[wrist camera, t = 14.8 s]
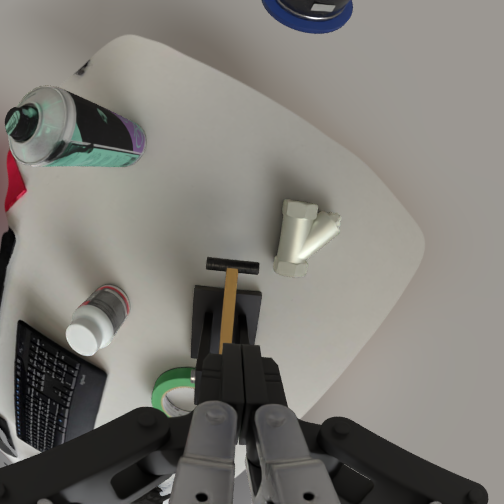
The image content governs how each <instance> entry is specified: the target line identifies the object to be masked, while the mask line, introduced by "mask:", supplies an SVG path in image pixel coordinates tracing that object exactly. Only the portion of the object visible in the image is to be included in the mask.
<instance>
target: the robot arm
mask: <svg viewBox="0 0 504 504" xmlns="http://www.w3.org/2000/svg"><path fill="white" fill-rule="evenodd" d="M275 1H276V3H277V4H278V5H279V6H280V7H281V8H282V9H283V10H284V11H286V12H287V13H289V14H291V15H292V16H295V17H297V18H299V19H303V20H306V21H312V22H325V21H329V20H332V19H334V18H336V17H338V16H339V15H340V14H341V13H342V11H343V10H344V8H345V6H346V5H347V3H348V2H349V1H350V0H275ZM281 381H282V380H281V376H280V372H279V368H278V365H277V364H276V363H275V361H274V360H273V359H272V358H266V357H261V351H260V346H259V345H246V344H242V345H241V344H233V343H223V347H222V354H213V353H209V354H208V355H207V356H206V357H205V359H204V360H203V366H202V373H201V381H200V389H199V398H198V404H197V406H196V408H195V409H194V410H193V411H192V412H190V413H188V414H186V415H183V416H178V417H168V416H167V415H166V414H165V413H164V412H162V411H161V410H159V409H156V408H153V407H140V408H136V409H134V410H132V411H130V412H128V413H126V414H124V415H122V416H120V417H118V418H116V419H114V420H112V421H110V422H108V423H106V424H104V425H102V426H100V427H98V428H96V429H94V430H92V431H90V432H88V433H85V434H83V435H81V436H79V437H77V438H75V439H72V440H70V441H68V442H66V443H63V444H61V445H59V446H56V447H54V448H52V449H49V450H47V451H44V452H42V453H40V454H37V455H35V456H32V457H29V458H27V459H24V460H22V461H19V462H16V463H14V464H11V465H8V466H5V467H2V468H0V504H130V503H132V502H133V501H135V500H136V499H138V498H140V497H141V496H143V495H144V494H146V493H147V492H149V491H151V490H152V489H154V488H155V487H157V486H158V485H159V484H161V483H162V482H164V481H165V480H167V479H168V478H169V477H171V476H172V474H174V473H176V474H175V478H174V482H173V487H172V491H171V495H170V499H169V504H233V491H234V476H235V463H234V457H235V445H237V443H238V437H239V445H246V451H247V453H246V457H245V465H246V471H247V477H248V482H249V488H250V493H251V499H252V504H487V503H488V493H487V491H486V489H485V488H484V487H483V486H482V485H480V484H479V483H476V482H473V481H471V480H469V479H466V478H464V477H461V476H459V475H457V474H455V473H452V472H450V471H448V470H446V469H443V468H441V467H439V466H437V465H435V464H433V463H430V462H428V461H426V460H424V459H422V458H420V457H418V456H416V455H414V454H412V453H410V452H408V451H406V450H404V449H402V448H400V447H399V446H397V445H395V444H393V443H391V442H389V441H387V440H385V439H384V438H382V437H380V436H378V435H376V434H375V433H373V432H371V431H369V430H368V429H366V428H364V427H362V426H360V425H359V424H357V423H355V422H354V421H352V420H350V419H348V418H344V417H332V418H329V419H327V420H325V421H324V422H323V423H322V425H318V424H314V423H309V422H305V421H302V420H300V419H298V418H297V417H296V415H295V413H294V412H293V411H292V410H291V409H289V408H288V405H287V401H286V397H285V393H284V389H283V384H282V382H281ZM344 464H345V465H344ZM346 465H347V466H346ZM348 466H349V467H350V468H349V467H348ZM351 468H352V469H354V470H355V471H354V470H352V469H351ZM356 471H357V472H359V473H360V474H359V473H357V472H356ZM361 474H362V475H364V476H365V477H364V476H362V475H361ZM366 477H367V478H366ZM368 478H369V479H370V480H369V479H368Z"/></svg>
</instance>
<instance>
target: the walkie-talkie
mask: <svg viewBox="0 0 504 504" xmlns="http://www.w3.org/2000/svg"><path fill="white" fill-rule="evenodd" d="M161 491H162V490H161V489H159V488H156V487H155V488H154V489H152V490H151V491H149V492H147V493H146V494H144V495H143V496H141V497H140V498H138V499H136V500H135V501H133V502H132V503H130V504H163V501H165V500H166V499H169V498H170V495H171V494H168V495H165V496H160V494H159V492H161Z"/></svg>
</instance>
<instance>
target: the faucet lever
mask: <svg viewBox="0 0 504 504" xmlns="http://www.w3.org/2000/svg"><path fill="white" fill-rule="evenodd" d="M206 269H207V270H216V271H225V272H226V279H225V290H224V300H223V311H222V322H221V333H220V345H219V354H222V347H223V343H232V334H233V323H234V311H235V300H236V289H237V279H238V273H245V274H254V275H258V273H259V262H250V261H240V260H231V259H222V258H212V257H207V263H206Z"/></svg>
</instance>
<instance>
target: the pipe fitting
mask: <svg viewBox="0 0 504 504" xmlns="http://www.w3.org/2000/svg"><path fill="white" fill-rule="evenodd" d="M317 212H318V206H317V205H316V204H312V203H308V202H302V201H296V200H288V199H286V200H284V201H283V208H282V213H283V214H284V216H283V223H282V229H281V235H280V241H279V248H278V254H277V256H275V258H274V265H273V269H274V271H275V272H276V273H277V274H280V275H282V276H286V277H292V278H299V277H303V276H305V275H306V272H307V267H308V263H307V261H306V260H307V259H308V258H310V257H311V256H312V255H314V254H315V253H316V252H317V251H319V250H320V249H321V248H322V247H324V246H325V245H326V244H327V243H329V242H330V241H331V240H332V239H334V238H335V237H336V236H337V235H339V234H340V231H339V228H338V227H339V226H340V220H341V216H340V215H339V214H338V213H335V214H334V213H332V212H329V213H328V214H327V213H326V212H325V211H321V212H319V213H318V214H317Z"/></svg>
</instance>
